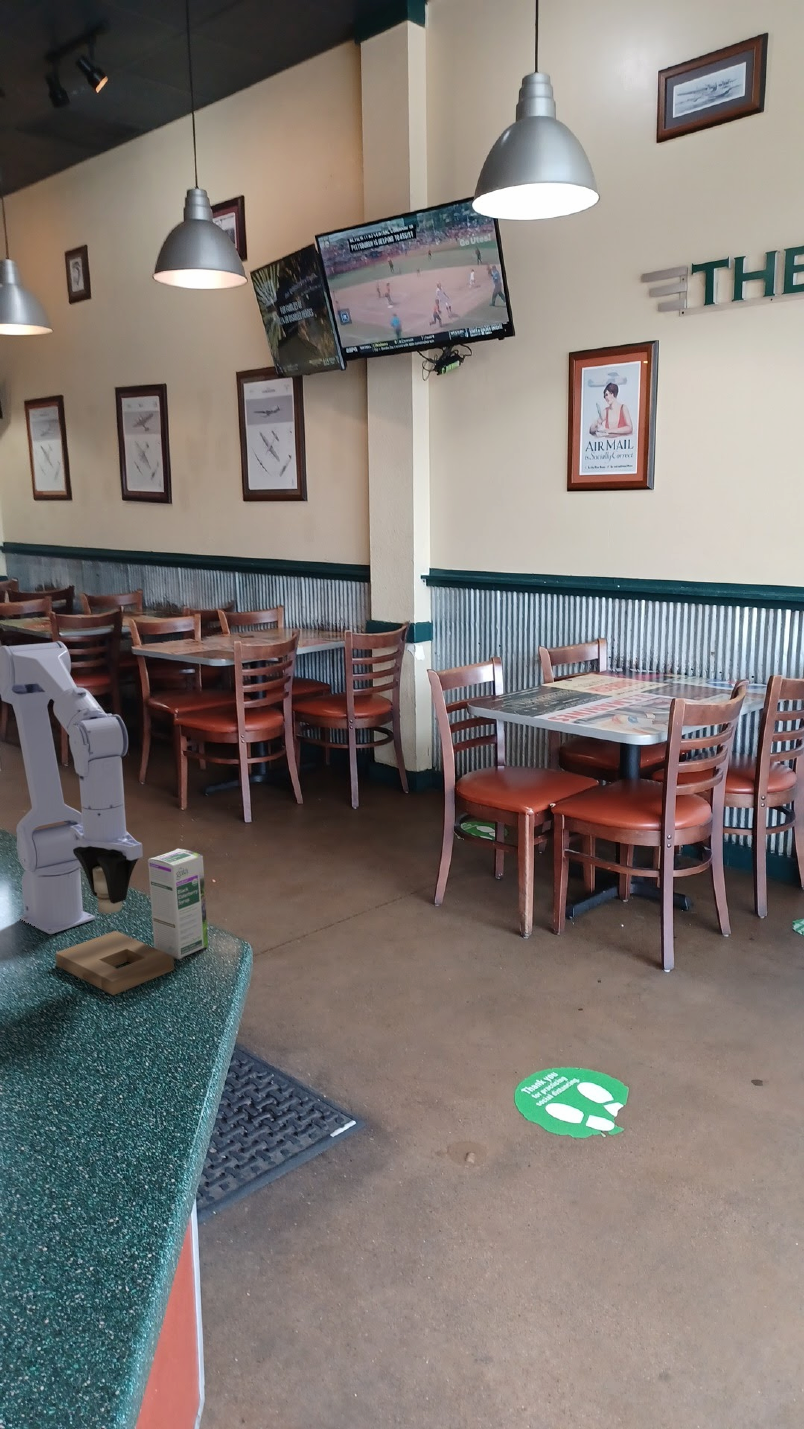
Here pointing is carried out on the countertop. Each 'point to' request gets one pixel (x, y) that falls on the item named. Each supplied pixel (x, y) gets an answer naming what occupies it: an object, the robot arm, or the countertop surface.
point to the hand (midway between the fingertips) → (109, 897)
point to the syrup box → (178, 902)
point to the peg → (103, 893)
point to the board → (114, 962)
